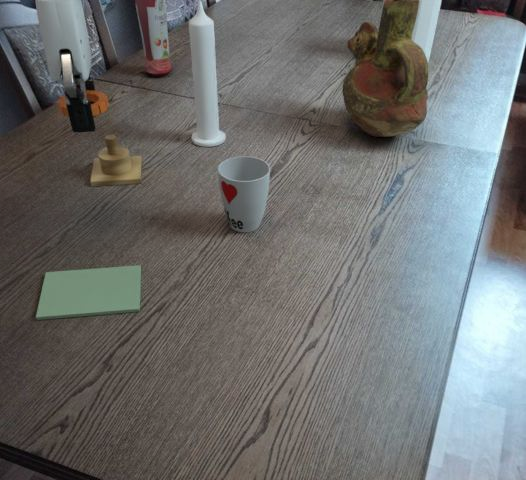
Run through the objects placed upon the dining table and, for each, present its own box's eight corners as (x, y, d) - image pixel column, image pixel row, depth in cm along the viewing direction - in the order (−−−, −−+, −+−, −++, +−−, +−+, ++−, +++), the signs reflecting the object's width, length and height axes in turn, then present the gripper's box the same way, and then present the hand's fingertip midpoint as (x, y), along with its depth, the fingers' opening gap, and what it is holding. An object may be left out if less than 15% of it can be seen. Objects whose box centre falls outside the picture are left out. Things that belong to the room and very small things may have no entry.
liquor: (161, 81, 135) (144, -58, 115) (138, 75, 138) (118, -62, 118) (179, 72, 140) (166, -64, 120) (157, 66, 142) (140, -68, 122)
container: (373, 48, 153) (384, -28, 140) (424, 50, 153) (440, -27, 140) (378, 67, 143) (390, -14, 130) (434, 69, 143) (451, -12, 130)
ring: (56, 119, 77) (54, 110, 77) (61, 99, 82) (59, 91, 81) (107, 116, 78) (105, 108, 77) (109, 97, 83) (107, 88, 82)
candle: (186, 145, 112) (173, 4, 94) (197, 130, 117) (187, -7, 99) (220, 149, 111) (213, 7, 93) (229, 134, 116) (224, -4, 98)
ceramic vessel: (373, 99, 129) (392, -28, 111) (447, 145, 113) (483, 5, 95) (310, 113, 123) (319, -18, 105) (378, 163, 107) (403, 18, 89)
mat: (36, 320, 75) (35, 317, 75) (46, 275, 82) (45, 272, 82) (140, 311, 77) (139, 308, 76) (141, 268, 84) (140, 264, 83)
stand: (91, 186, 100) (82, 150, 95) (95, 163, 106) (87, 127, 101) (141, 183, 101) (135, 147, 96) (142, 160, 107) (136, 124, 102)
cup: (214, 215, 94) (211, 160, 86) (259, 207, 96) (259, 152, 89) (229, 241, 88) (227, 185, 81) (276, 232, 90) (278, 176, 83)
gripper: (33, -38, 74) (65, 97, 87) (12, -3, 62) (54, 148, 75) (89, -39, 75) (114, 95, 88) (80, -5, 63) (110, 144, 76)
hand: (86, 118), depth 81 cm, fingers closed on ring, 7 cm apart
